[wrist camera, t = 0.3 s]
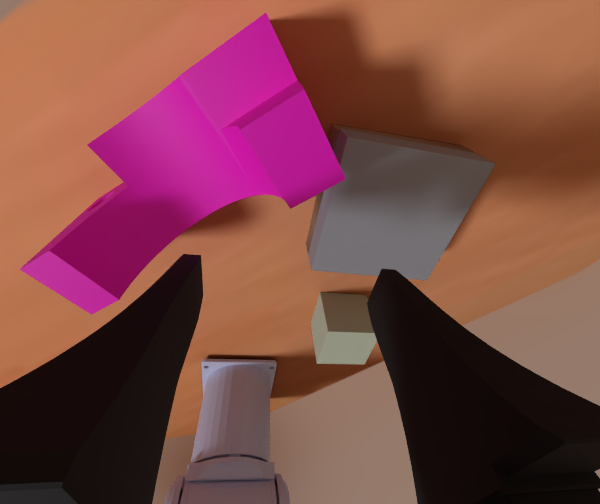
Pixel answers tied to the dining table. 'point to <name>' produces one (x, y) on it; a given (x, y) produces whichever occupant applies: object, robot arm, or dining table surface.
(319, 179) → the toy block
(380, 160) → the slate top slab
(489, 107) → the dining table surface
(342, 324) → the sage cube
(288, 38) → the dining table surface
